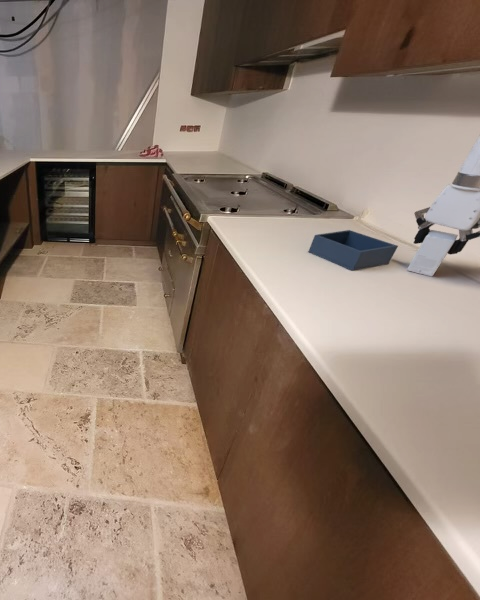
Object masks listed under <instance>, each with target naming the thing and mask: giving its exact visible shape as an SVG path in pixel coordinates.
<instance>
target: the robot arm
mask: <svg viewBox="0 0 480 600" xmlns="http://www.w3.org/2000/svg"><path fill="white" fill-rule="evenodd" d="M414 218H415V222H416V224H417V229H418V231H417V233H416V235H415V237H414V238H413V239H414V241H413V244H415V245H418V244H422V242H423V241H424V239H425V237H426V236H427V235H428V234H429V232H430V231H431V229H430V228H431V227H433V226H434V225H439V226H443V227H447V228H451V229H455V230H458V237H459V238H458V239H456V240H455V242H454V243H453V245H452V247H451V248H450V250H449V251H448V253H447V255H450V256H451V255H455V254H456V255H457V254H458V253H461V252H462V251H463V250H464V248H465V246H466V245H467V243H468V242H469V241H471V240H473V239H478V238H480V230H478V231H476V232H473V230H475V229H476V230H477V229H479V228H480V134H479V136H478V137H477V139H476V141H475V142H474V144H473V146H472V148H471V149H470V151H469V152H468V154H467V156H466V157H465V159H464V161H463V163H462V165H461V167H460V168H459V170H458V172H457V174H456V175H455V177H454V179H453V180H452V182H451V183H448V184H447V185H446V186H445V188H443V190H442V191H441V192H440V193H439V194H438V195H437V197H436V198H435V200H434V201H433V202H432V204H431V205H430V206H429V207H426V208H423V209H419V210H417V211H414Z"/></svg>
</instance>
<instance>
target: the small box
mask: <svg viewBox="0 0 480 600" xmlns="http://www.w3.org/2000/svg"><path fill="white" fill-rule="evenodd" d="M458 237H459V234H456V233H452V232H451V233H450V232H446V231H440V230H435V229H430V232H429V234H428V235H427V236H426V237H425V239H424V241H423V242H422V243H420V246H419V248H418V249H417V251H416V253H415V254H414V256H413V258H412V259H411V262H410V263H409V265H408V267H407V269H406V271H408V272H413V273H417V274H419V275H424V276H428V277H433V276H434V275H435V273H436V272H437V270H438V269H439V267H440V266H441V264H442V263H443V261H444V259H445V258H446V256H447V255H448V251H449V250H450V248H451V247H452V245H453V243H454V242H455V240H457V239H458Z"/></svg>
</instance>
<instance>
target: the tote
mask: <svg viewBox="0 0 480 600" xmlns="http://www.w3.org/2000/svg"><path fill="white" fill-rule="evenodd" d="M398 248H399V245H397V244H394V243H391V242H388V241H384V240H381V239H379V238H375V237H372V236H369V235H366V234H362V233H359V232H356V231H354V230H350V229H346V230H340V231H332V232H326V233H325V232H324V233H319V234H315V235H314V237H313V239H312V241H311V243H310V247H309V249H308V251H307V252H308V253H310V254H313V255H315V256H317V257H319V258H322V259H323V260H325V261H328V262H331V263H334V264H336V265H338V266H341V267H343V268H345V269H348V270H350V271H353V272H354V271H358V270H363V269H368V268H374V267H379V266H384V265H389V264H390V262H391V260H392V259H393V257H394V254H395V252H396V251H397V249H398Z"/></svg>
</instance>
